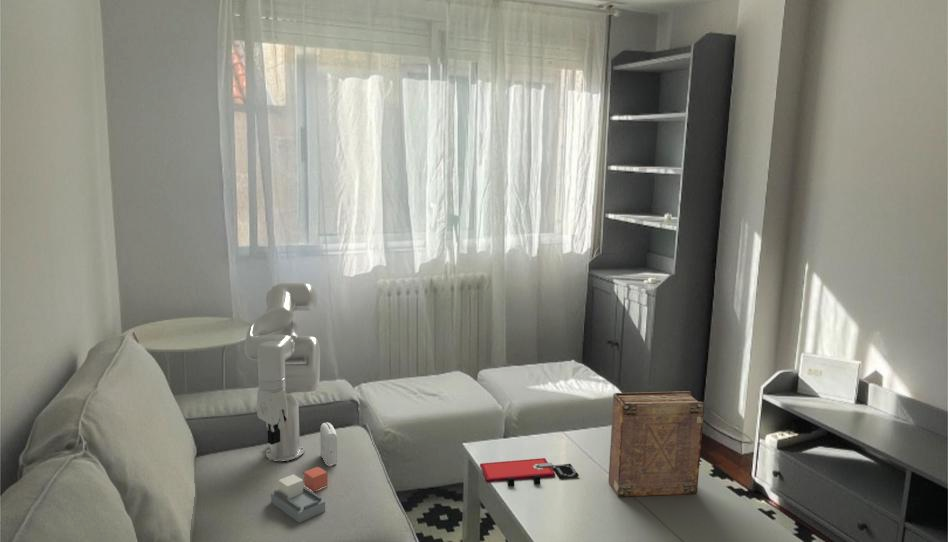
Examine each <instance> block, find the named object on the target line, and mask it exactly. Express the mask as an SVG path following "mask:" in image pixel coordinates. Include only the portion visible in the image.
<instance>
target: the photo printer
mask: <svg viewBox="0 0 948 542" xmlns="http://www.w3.org/2000/svg"><path fill="white" fill-rule="evenodd" d="M319 435H320V436H319V437H320V439H319V441H320V456H321V458H323V459H322V461H323V460H324V461H323V463H324V462H325V463H324V464H328V465H330V464H334V463H337V464H338V435H337V432H336V429H335V428H334V425H333V424H332V423H330V422H322V424H321V425H320V430H319Z"/></svg>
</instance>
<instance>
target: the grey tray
mask: <svg viewBox="0 0 948 542" xmlns="http://www.w3.org/2000/svg"><path fill="white" fill-rule="evenodd" d="M271 502H272V503H273V504H272V503H271ZM270 503H271V504H272V505H274V506H275V507H276V506H277V507H276V508H278V509H280V510H281V511H282V512H283V513H284V514H286V515H288V516H289V517H290V518H292V519H293V520H294V521H296V522H297V523H299V524H300V523H302V522H305V521H307V520H309V519H311V518H313V517H315V516H318V515H320V514H321V513H325V512H326V501H325V500H323V498H322V497H321V496H320V495H318V494H316V492H314V493H313V492H312V491H310V490H309V489H307V488H306V487H304V485H303V493H302V494H299V495H297V496H295V497H292V498H290V499H289V498H287V497H286V496H284V495H283V494H281V493H280V492H279V487H278V488H277V489H275V490H274V491H273V492H271V493H270Z"/></svg>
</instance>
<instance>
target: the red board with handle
mask: <svg viewBox="0 0 948 542" xmlns="http://www.w3.org/2000/svg"><path fill="white" fill-rule="evenodd" d="M479 466H480V469H481V471H482V473H483V476H484V478H485V481H486V482H487V483H489V482H490V483H492V482H503V481H505V482H506V481H507V487H509V488H510V487H515V481H518V480H528V479H530V480H531V479H532V480H533V485H541V478H549V477H556V474H557V475H558V477H559V478H567V477H579V476H580V474H579V473H578V472H577V471H576V469H575V468H574V467H573V465H572V464H571V463H566V464H565V463H563V464H554V463H552V462H548V461H547V459H546V458H545V457H544V458H543V457H542V458H530V459H520V460H519V459H517V460H508V461H506V460H505V461H495V462H483V463H479Z"/></svg>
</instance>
